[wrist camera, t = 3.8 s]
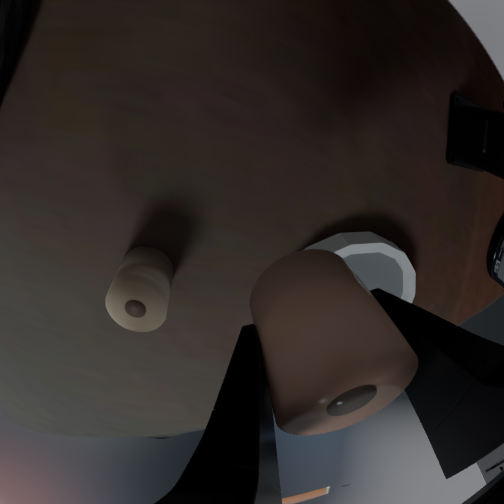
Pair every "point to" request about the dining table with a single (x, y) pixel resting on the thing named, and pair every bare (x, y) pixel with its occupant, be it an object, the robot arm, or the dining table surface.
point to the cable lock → (10, 33)
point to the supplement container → (497, 256)
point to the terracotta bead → (326, 344)
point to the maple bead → (141, 290)
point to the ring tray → (374, 261)
